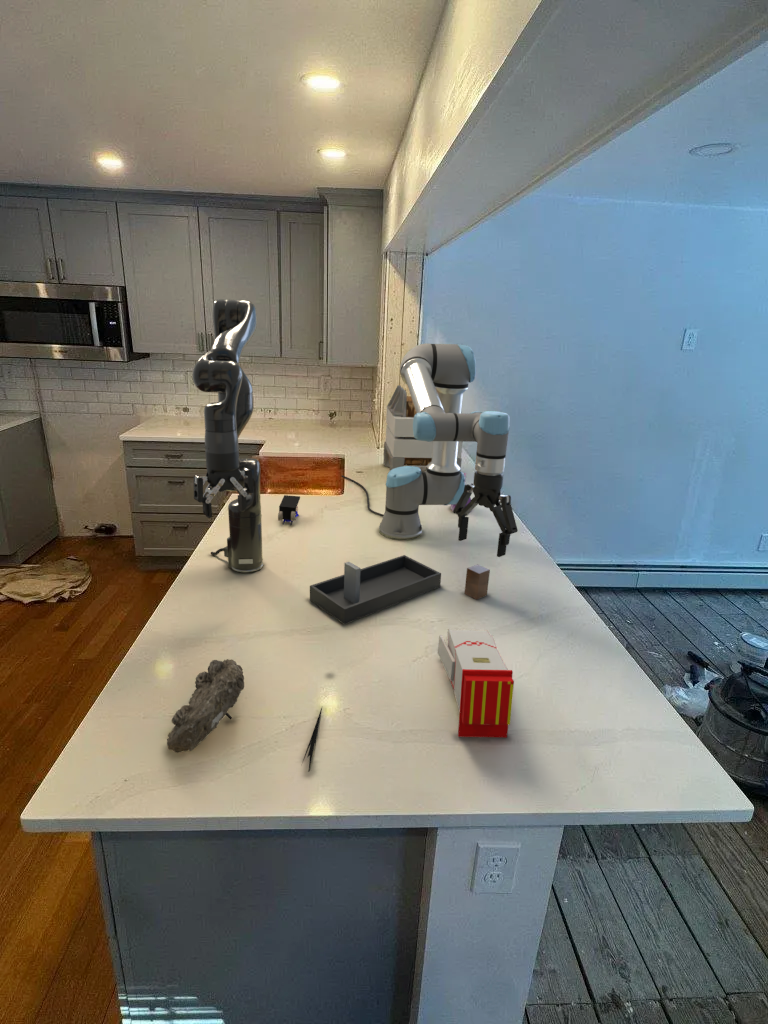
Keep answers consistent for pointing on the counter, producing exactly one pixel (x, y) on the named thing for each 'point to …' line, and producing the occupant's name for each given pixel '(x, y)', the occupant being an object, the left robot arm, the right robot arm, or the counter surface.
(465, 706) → the toy
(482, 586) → the block
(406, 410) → the white wooden crate
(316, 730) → the feather
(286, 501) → the figurine character
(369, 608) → the tray
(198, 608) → the counter surface
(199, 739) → the fossil
